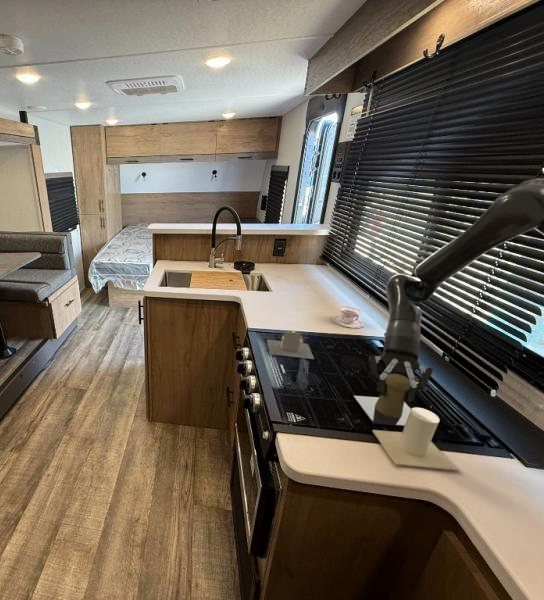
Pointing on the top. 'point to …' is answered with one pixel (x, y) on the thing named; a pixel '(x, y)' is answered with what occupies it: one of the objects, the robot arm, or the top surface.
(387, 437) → the cream mat
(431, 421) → the beige cylinder
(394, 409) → the cork
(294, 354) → the architectural model
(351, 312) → the teacup
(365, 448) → the top surface
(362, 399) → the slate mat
